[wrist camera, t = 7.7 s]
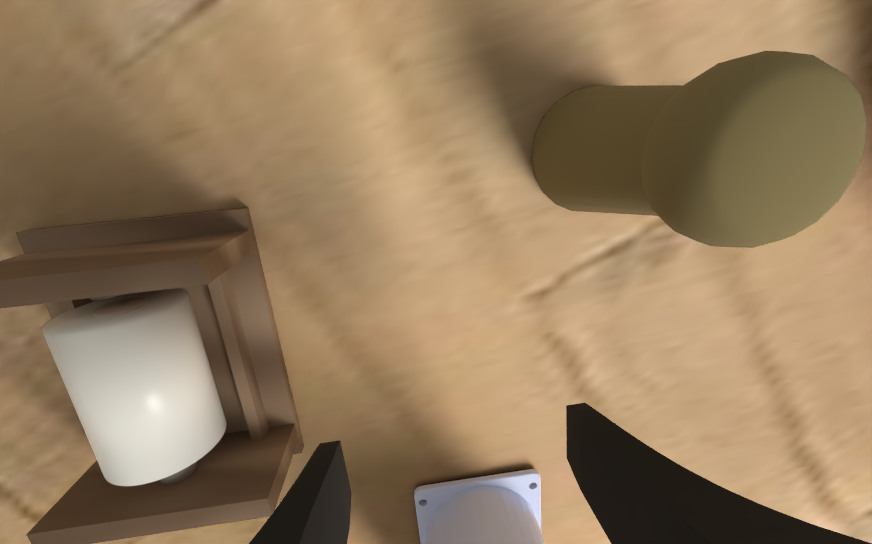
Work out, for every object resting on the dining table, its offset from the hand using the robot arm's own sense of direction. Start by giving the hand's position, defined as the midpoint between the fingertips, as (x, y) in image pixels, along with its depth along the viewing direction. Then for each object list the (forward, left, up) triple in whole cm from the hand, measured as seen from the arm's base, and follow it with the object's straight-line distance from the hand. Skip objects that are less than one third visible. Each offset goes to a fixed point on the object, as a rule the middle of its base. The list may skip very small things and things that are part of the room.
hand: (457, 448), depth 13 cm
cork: (+8, -9, -10) cm, 16 cm away
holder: (0, +13, -10) cm, 17 cm away
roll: (0, +13, -9) cm, 16 cm away
